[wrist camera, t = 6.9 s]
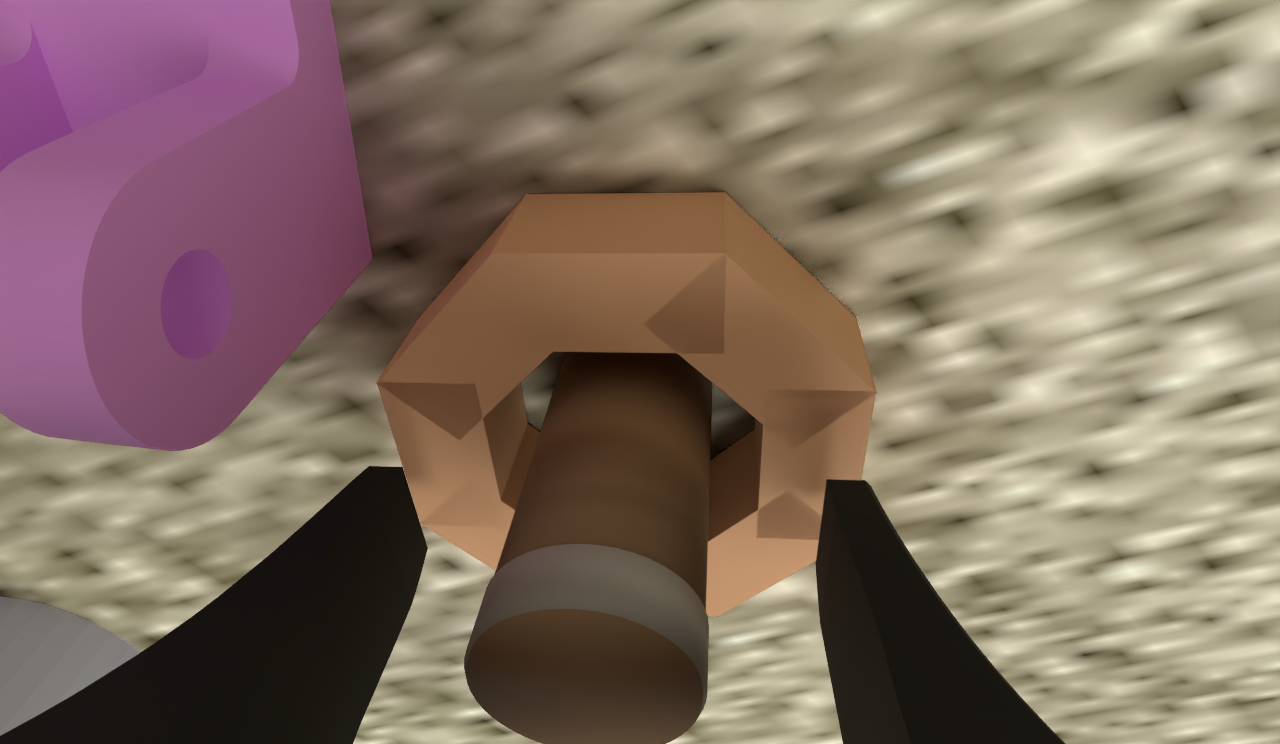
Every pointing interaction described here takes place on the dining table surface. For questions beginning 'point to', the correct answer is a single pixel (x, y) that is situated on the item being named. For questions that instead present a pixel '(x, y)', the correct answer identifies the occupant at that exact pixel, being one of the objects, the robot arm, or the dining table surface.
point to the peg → (605, 561)
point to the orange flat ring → (636, 323)
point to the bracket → (167, 209)
